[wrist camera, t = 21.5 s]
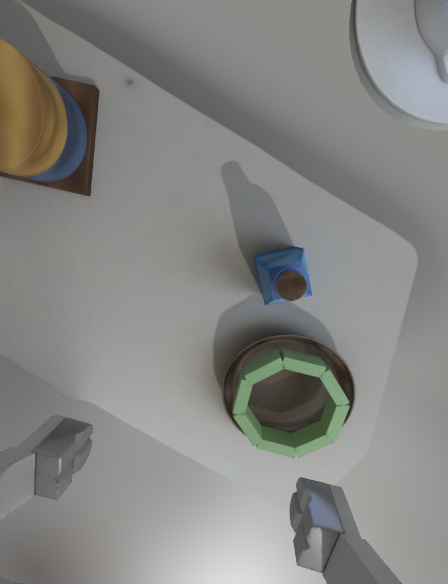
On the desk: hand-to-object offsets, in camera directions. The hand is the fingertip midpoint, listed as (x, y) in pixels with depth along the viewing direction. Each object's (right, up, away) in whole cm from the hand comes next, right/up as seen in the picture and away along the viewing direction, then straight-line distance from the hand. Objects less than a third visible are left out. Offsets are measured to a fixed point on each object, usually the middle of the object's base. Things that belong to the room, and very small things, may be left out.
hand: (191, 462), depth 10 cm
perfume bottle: (+10, +10, +29) cm, 32 cm away
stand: (-25, +30, +28) cm, 48 cm away
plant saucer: (+12, -9, +33) cm, 36 cm away
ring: (+11, -10, +28) cm, 32 cm away
